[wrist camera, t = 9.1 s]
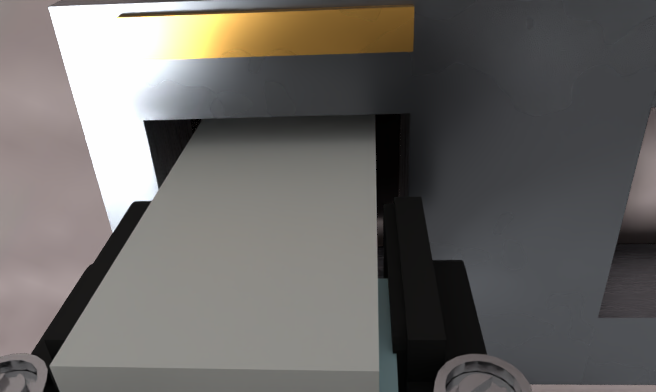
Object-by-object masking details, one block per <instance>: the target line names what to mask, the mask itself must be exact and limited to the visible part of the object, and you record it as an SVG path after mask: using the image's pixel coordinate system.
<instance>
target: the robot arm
mask: <svg viewBox="0 0 656 392" xmlns="http://www.w3.org/2000/svg"><path fill="white" fill-rule="evenodd" d="M150 203H151V201H134V202H133V203H132V204H131V205H130V207H129V208H128V210H127V212H126V213H125V215H124V216H123V218H122V219H121V221H120V223H119V224H118V226H117V227H116V229H115V230H114V232H113V233H112V235H111V237H110V238H109V240H108V241H107V243H106V244H105V246H104V247H103V249H102V251H101V252H100V254H99V255H98V257H97V258H96V260H95V261H94V263H93V264H91V265H90V266H89V267H88V268H87V269H86V270H85V272H84V273H83V275H82V276H81V278H80V279H79V281H78V282H77V284H76V285H75V287H74V289H73V290H72V292H71V293H70V295H69V296H68V298H67V299H66V301H65V302H64V304H63V305H62V307H61V309H60V310H59V312H58V313H57V315H56V316H55V318H54V319H53V321H52V322H51V324H50V325H49V327H48V329H47V330H46V332H45V333H44V335H43V336H42V338H41V339H40V341H39V342H38V344H37V345H36V347H35V349H34V350H33V352H32V353H31V354H27V353H20V354H10V355H6V356H2V357H0V392H60V391H59V389H58V386H57V384H56V381H55V379H54V376H53V374H52V371H51V369H50V367H49V366H50V364H51V363H52V361H53V359H54V358H55V356H56V355H57V353H58V351H59V350H60V348H61V346H62V345H63V343H64V342H65V340H66V338H67V337H68V335H69V334H70V332H71V330H72V329H73V327H74V326H75V324H76V322H77V321H78V319H79V317H80V316H81V314H82V313H83V311H84V309H85V308H86V306H87V305H88V303H89V301H90V300H91V298H92V297H93V295H94V293H95V292H96V290H97V288H98V287H99V285H100V284H101V282H102V280H103V279H104V277H105V276H106V274H107V272H108V271H109V269H110V268H111V266H112V264H113V263H114V261H115V259H116V258H117V256H118V255H119V253H120V251H121V250H122V248H123V247H124V245H125V243H126V242H127V240H128V239H129V237H130V235H131V234H132V232H133V230H134V229H135V227H136V226H137V224H138V222H139V221H140V219H141V218H142V216H143V214H144V213H145V211H146V210H147V208H148V206H149V205H150ZM383 279H388V288H389V304H390V319H391V335H392V351H393V354H396V355H397V375H398V392H532V389H531V385H530V384H529V382H528V381H527V379H526V378H525V376H524V375H523V374H522V373H521V372H520V371H519V370H518V369H516V368H515V367H514V366H513V365H511V364H509V363H508V362H506V361H504V360H502V359H500V358H497V357H493V356H489V355H487V351H486V347H485V343H484V339H483V335H482V332H481V328H480V324H479V320H478V316H477V312H476V308H475V304H474V300H473V296H472V292H471V288H470V284H469V280H468V276H467V272H466V268H465V264H464V262H463V261H462V260H432V254H431V249H430V243H429V237H428V231H427V226H426V220H425V214H424V209H423V203H422V198H421V197H394V204H384V211H383Z"/></svg>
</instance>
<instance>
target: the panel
mask: <svg viewBox="0 0 656 392" xmlns="http://www.w3.org/2000/svg"><path fill="white" fill-rule="evenodd" d="M48 8H49V11H50V15H51V18H52V22H53V25H54V29H55V32H56V36H57V39H58V43H59V46H60V50H61V53H62V57H63V60H64V64H65V67H66V71H67V74H68V78H69V81H70V85H71V88H72V92H73V95H74V99H75V103H76V106H77V110H78V113H79V117H80V120H81V124H82V127H83V131H84V134H85V138H86V141H87V145H88V148H89V152H90V155H91V159H92V162H93V166H94V169H95V173H96V176H97V180H98V183H99V187H100V190H101V194H102V197H103V201H104V204H105V208H106V211H107V215H108V218H109V222H110V225H111V229H112V232H114V230H115V229H116V227H117V226H118V224H119V223H120V221H121V219H122V218H123V216H124V215H125V213H126V212H127V210H128V208H129V207H130V205H131V204H132V203H133V202H134V201H152V200H153V198H154V197H155V195H156V193H157V192H158V190H159V189H160V187H161V185H162V184H163V182H164V181H165V179H166V177H167V176H168V174H169V172H170V171H171V169H172V168H173V166H174V164H175V163H176V161H177V160H178V158H179V156H180V155H181V153H182V152H183V150H184V148H185V147H186V145H187V143H188V142H189V140H190V139H191V137H192V135H193V132H192V127H191V121H190V119H213V118H251V117H290V116H329V115H368V114H400V151H399V197H421V198H422V203H423V209H424V214H425V220H426V226H427V231H428V237H429V243H430V249H431V254H432V260H462V261H463V262H464V264H465V268H466V272H467V276H468V280H469V284H470V288H471V292H472V296H473V300H474V304H475V308H476V312H477V316H478V320H479V324H480V328H481V332H482V335H483V339H484V343H485V347H486V351H487V355H489V356H493V357H497V358H500V359H502V360H504V361H506V362H508V363H509V364H511V365H513V366H514V367H515V368H516V369H518V370H519V371H520V372H521V373H522V374H523V375H524V376H525V378H526V379H527V381H528V382H529V384H575V385H656V244H617V240H618V236H619V232H620V228H621V224H622V220H623V216H624V212H625V208H626V204H627V200H628V196H629V192H630V188H631V184H632V181H633V177H634V173H635V169H636V165H637V161H638V157H639V153H640V149H641V145H642V141H643V137H644V133H645V129H646V125H647V121H648V117H649V113H650V109H651V107H656V0H61V1H59V2H57V3H55V4H53V5H51V6H49V7H48ZM377 265H378V278H380V279H383V247H377Z"/></svg>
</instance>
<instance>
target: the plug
mask: <svg viewBox="0 0 656 392" xmlns="http://www.w3.org/2000/svg"><path fill="white" fill-rule="evenodd" d="M49 367H50V369H51V371H52V374H53V376H54V379H55V381H56V384H57V386H58V389H59V391H60V392H398V375H397V355H396V354H393V351H392V335H391V319H390V304H389V288H388V279H380V278H378V265H377V201H376V137H375V114H368V115H329V116H290V117H251V118H213V119H202V121H201V123H200V124H199V126H198V127H197V129H196V131H195V132H194V134H193V135H192V137H191V139H190V140H189V142H188V143H187V145H186V147H185V148H184V150H183V152H182V153H181V155H180V156H179V158H178V160H177V161H176V163H175V164H174V166H173V168H172V169H171V171H170V172H169V174H168V176H167V177H166V179H165V181H164V182H163V184H162V185H161V187H160V189H159V190H158V192H157V193H156V195H155V197H154V198H153V200H152V201H151V203H150V205H149V206H148V208H147V210H146V211H145V213H144V214H143V216H142V218H141V219H140V221H139V222H138V224H137V226H136V227H135V229H134V230H133V232H132V234H131V235H130V237H129V239H128V240H127V242H126V243H125V245H124V247H123V248H122V250H121V251H120V253H119V255H118V256H117V258H116V259H115V261H114V263H113V264H112V266H111V268H110V269H109V271H108V272H107V274H106V276H105V277H104V279H103V280H102V282H101V284H100V285H99V287H98V288H97V290H96V292H95V293H94V295H93V297H92V298H91V300H90V301H89V303H88V305H87V306H86V308H85V309H84V311H83V313H82V314H81V316H80V317H79V319H78V321H77V322H76V324H75V326H74V327H73V329H72V330H71V332H70V334H69V335H68V337H67V338H66V340H65V342H64V343H63V345H62V346H61V348H60V350H59V351H58V353H57V355H56V356H55V358H54V359H53V361H52V363H51V364H50V366H49Z"/></svg>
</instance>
